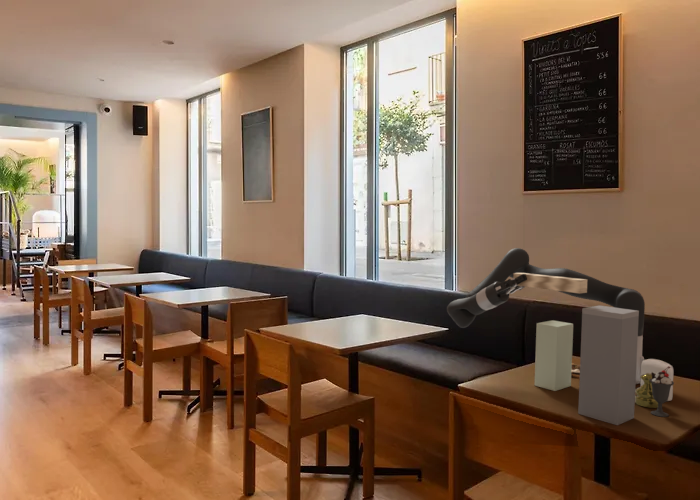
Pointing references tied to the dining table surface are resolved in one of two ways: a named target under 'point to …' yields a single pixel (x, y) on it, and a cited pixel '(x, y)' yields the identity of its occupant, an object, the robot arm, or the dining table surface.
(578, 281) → the ash bar
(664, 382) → the sundae
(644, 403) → the gold buddha statue
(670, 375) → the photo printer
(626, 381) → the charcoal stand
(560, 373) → the sage green pillar
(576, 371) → the sushi roll
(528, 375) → the dining table surface
